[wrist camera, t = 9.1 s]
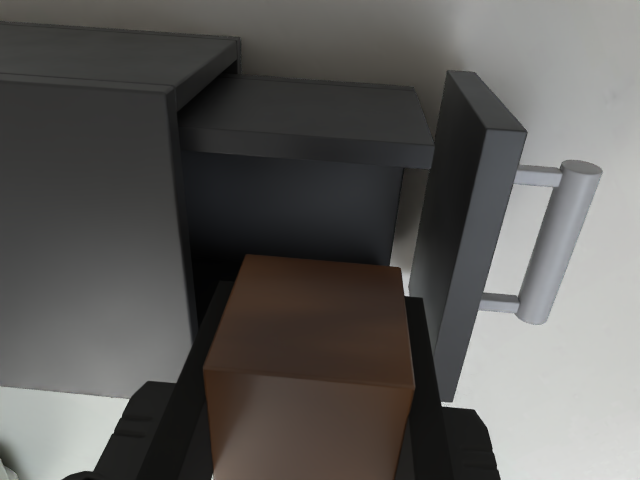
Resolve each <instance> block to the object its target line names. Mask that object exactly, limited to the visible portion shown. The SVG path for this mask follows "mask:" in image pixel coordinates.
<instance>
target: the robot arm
mask: <svg viewBox="0 0 640 480" xmlns="http://www.w3.org/2000/svg"><path fill="white" fill-rule="evenodd" d="M234 283H235V282H233V281H221V280H220V281H219V283H218V286H217V288H216V290H215V293H214V295H213V298H212V300H211V302H210V305H209V307H208V309H207V312H206V314H205V316H204V319H203V321H202V324H201V326H200V328H199V331H198V333H197V335H196V338H195V340H194V342H193V345H192V347H191V350H190V352H189V354H188V357H187V359H186V361H185V364H184V366H183V368H182V371H181V373H180V376H179V378H178V380H177V383H169V382H158V381H147V382H146V383H145V384H144V385H143V386H142V387H141V388H140V389H138V390H137V391H136V392H135V393H134V394H133V395H132V396H131V398H130V400H129V402H128V404H127V406H126V408H125V410H124V412H123V414H122V418H120V420H119V422H118V424H117V426H116V428H115V430H114V434H112V435H111V437H110V439H109V441H108V443H107V445H106V447H105V449H104V451H103V453H102V455H101V457H100V459H99V461H98V463H97V465H96V467H95V469H94V471H93V472H91V471H83V472H79V473H75V474H71V475H69V476H67V477H65V478H64V479H62V480H211V478H212V474H213V463H212V452H211V442H210V432H209V422H208V412H207V402H206V396H205V387H204V376H203V365H204V362H205V360H206V357H207V354H208V352H209V349H210V347H211V344H212V341H213V339H214V336H215V333H216V331H217V328H218V325H219V323H220V320H221V317H222V315H223V312H224V310H225V307H226V304H227V302H228V299H229V296H230V294H231V291H232V288H233V286H234ZM404 297H405V306H406V314H407V322H408V330H409V339H410V347H411V355H412V364H413V372H414V380H415V391H414V396H413V400H412V405H411V410H410V414H409V416H408V421H407V425H406V430H405V435H404V439H403V444H402V449H401V453H400V458H399V462H398V467H397V472H396V476H395V480H501V479H500V475H499V471H498V470H497V464H496V460H495V456H494V453H493V451H492V449H493V448H492V444H491V440H490V437H489V433H488V429H487V427H486V426H485V424H484V423H483V421H482V420H481V419H480V417H479V416H478V414H477V413H476V412H475V410H473V409H462V408H451V407H442V406H441V400H440V395H439V389H438V383H437V377H436V371H435V366H434V360H433V354H432V348H431V343H430V337H429V331H428V325H427V319H426V314H425V308H424V302H423V298H421V297H409V296H404Z"/></svg>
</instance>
